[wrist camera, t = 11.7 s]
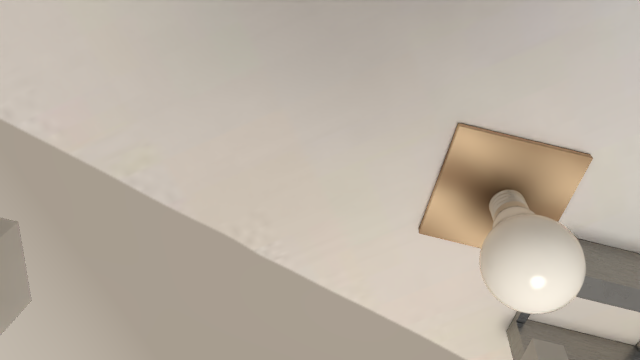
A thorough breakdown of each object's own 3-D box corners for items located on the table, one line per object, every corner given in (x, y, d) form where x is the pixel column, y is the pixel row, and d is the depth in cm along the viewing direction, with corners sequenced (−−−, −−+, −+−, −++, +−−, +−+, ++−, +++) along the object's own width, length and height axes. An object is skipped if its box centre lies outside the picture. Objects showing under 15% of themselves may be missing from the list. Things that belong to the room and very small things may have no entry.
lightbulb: (549, 159, 37) (607, 250, 28) (546, 229, 40) (597, 333, 31) (461, 168, 39) (488, 258, 29) (464, 236, 42) (489, 338, 32)
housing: (560, 234, 41) (579, 274, 37) (705, 269, 41) (741, 314, 37) (506, 331, 47) (517, 376, 43) (633, 363, 47) (656, 410, 42)
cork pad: (458, 122, 38) (459, 126, 37) (590, 154, 37) (592, 158, 37) (418, 229, 43) (418, 233, 42) (534, 257, 42) (536, 261, 42)
